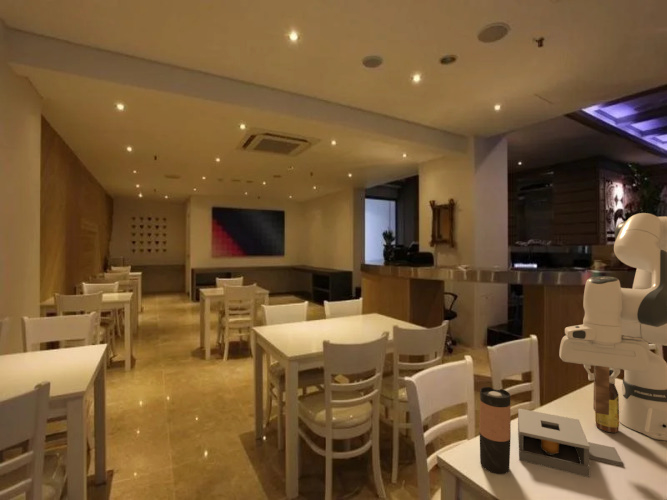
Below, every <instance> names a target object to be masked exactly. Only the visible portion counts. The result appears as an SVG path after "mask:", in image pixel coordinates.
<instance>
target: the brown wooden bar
mask: <svg viewBox="0 0 667 500" xmlns="http://www.w3.org/2000/svg"><path fill="white" fill-rule="evenodd" d="M593 374H595V375H596V378H595V379H596V380H595V381H593V410H594V413H595V412H596V413H600V414H605V415H609V367H602V366H593Z"/></svg>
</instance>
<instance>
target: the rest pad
mask: <svg viewBox="0 0 667 500" xmlns="http://www.w3.org/2000/svg"><path fill="white" fill-rule="evenodd" d="M588 444H589V446H590V450H589V460H593V461H599V462H603V463H607V464H612V465H617V466H620V467H623V460H622V458H621V456H620V455H619V453H618V451H617V449H616V447H614V446H609V445H605V444H600V443H594V442H590V441H588Z"/></svg>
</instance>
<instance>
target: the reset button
mask: <svg viewBox="0 0 667 500" xmlns="http://www.w3.org/2000/svg"><path fill="white" fill-rule="evenodd" d="M540 443H541V444H540V446H541V449H542V450H543V451H545V453H546V452H549V453H554V454H559V453H560V444H559V443H557V442H552V441H548V440H543V439H541V440H540Z"/></svg>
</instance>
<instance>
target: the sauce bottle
mask: <svg viewBox="0 0 667 500" xmlns="http://www.w3.org/2000/svg"><path fill="white" fill-rule="evenodd" d="M613 372H614V371H613V370H612V368H609V376H611V375H612V373H613ZM615 384H616V383H615ZM615 384H610V383H609V415H605V414H600V413H596V412H595V411H594V421H595V426H596V427H597V428H598V429H599V430H601V431H603V432H608V433H618V432H619V430H620V429H619V428H620V422H619V414H620V406H619V404H620V403H619V399H620V398H619V397H620V396H619V392H618V389H617V387H616V385H615Z"/></svg>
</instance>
